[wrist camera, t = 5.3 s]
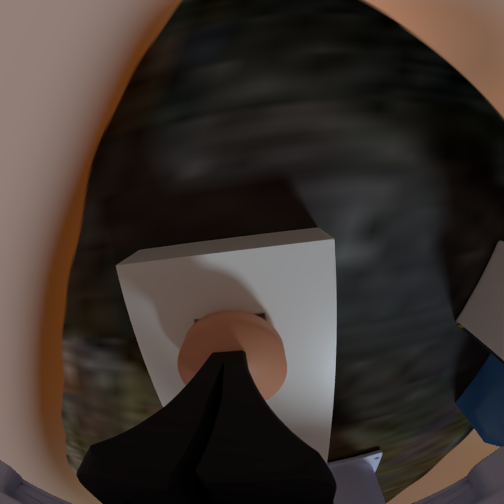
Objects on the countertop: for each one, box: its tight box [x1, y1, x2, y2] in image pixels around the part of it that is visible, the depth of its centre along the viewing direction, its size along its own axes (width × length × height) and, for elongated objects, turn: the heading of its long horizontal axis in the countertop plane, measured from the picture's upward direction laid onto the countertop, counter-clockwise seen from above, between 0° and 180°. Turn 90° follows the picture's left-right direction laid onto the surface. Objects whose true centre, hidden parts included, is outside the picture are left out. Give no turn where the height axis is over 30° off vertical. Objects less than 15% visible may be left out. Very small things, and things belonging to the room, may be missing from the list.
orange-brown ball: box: [177, 310, 287, 401], centre depth 12 cm, size 4×4×4 cm
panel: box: [116, 228, 337, 464], centre depth 15 cm, size 17×10×3 cm, turn 7°
